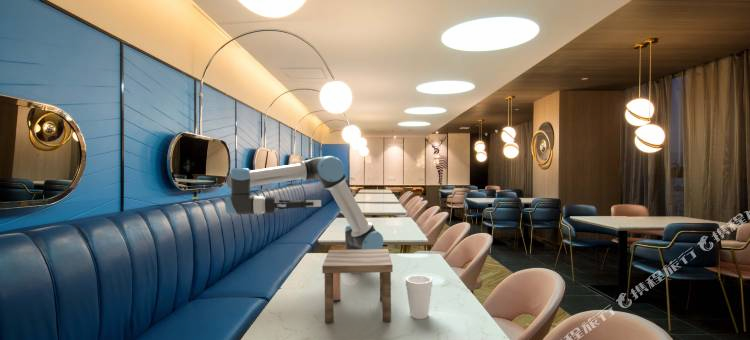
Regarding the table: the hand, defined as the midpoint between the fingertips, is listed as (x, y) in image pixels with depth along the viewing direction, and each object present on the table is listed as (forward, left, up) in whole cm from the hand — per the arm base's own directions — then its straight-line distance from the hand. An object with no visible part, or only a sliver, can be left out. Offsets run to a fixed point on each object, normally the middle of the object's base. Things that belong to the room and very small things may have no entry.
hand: (321, 203), depth 157 cm
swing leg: (+21, +7, -37) cm, 44 cm away
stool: (+23, +16, -38) cm, 47 cm away
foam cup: (+29, +38, -38) cm, 61 cm away
